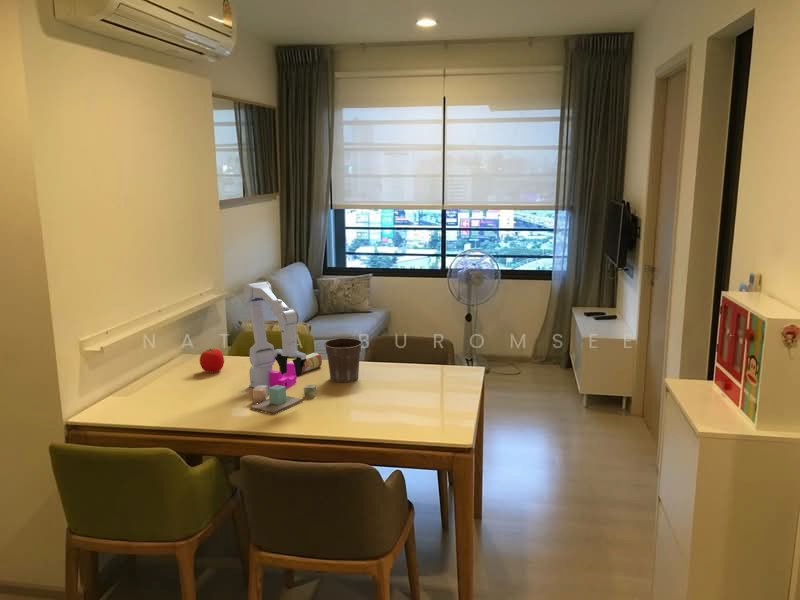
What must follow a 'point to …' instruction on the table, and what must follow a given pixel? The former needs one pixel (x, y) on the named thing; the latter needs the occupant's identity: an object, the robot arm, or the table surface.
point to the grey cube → (264, 387)
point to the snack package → (310, 362)
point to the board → (274, 408)
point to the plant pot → (343, 358)
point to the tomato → (212, 360)
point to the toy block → (283, 377)
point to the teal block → (277, 394)
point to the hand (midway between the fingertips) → (291, 374)
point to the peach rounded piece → (259, 394)
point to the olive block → (310, 390)
